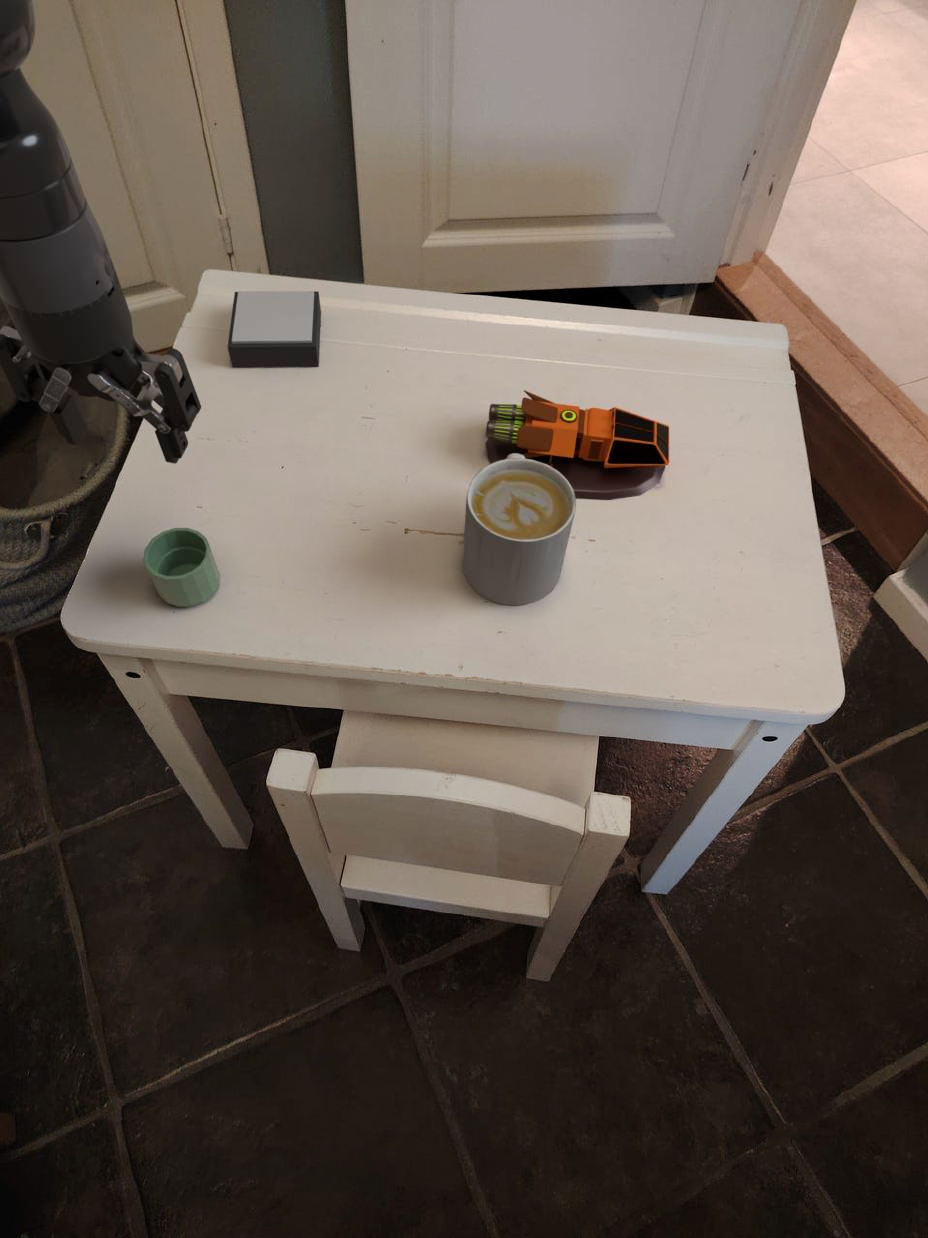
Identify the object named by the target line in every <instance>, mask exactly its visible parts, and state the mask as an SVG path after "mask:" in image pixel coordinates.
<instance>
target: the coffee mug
mask: <svg viewBox="0 0 928 1238" xmlns="http://www.w3.org/2000/svg"><path fill="white" fill-rule="evenodd" d="M466 492H467V493H466V500H465V514H464V515H465V516H464V529H463V531H464V532H463V545H462V558H461V560H462V561H461V566H462V571H463V572H462V573H463V575H464V577H465V579H466V581H467V582H468V585H470V587H471V588H472V589H473V591H475V592H476V593H478V595H480V596H482V597H484V598H485V599H487V600H489V601H492V602H494V603H497V604H500V605H507V606H524V605H528V604H532V603H535V602H538V601H540V600H541V599H544V598H545V597H547V596H548V595H549V594H550V593H551V592H552V591H553V590H554V588H555V587H556V586H557V585H558V582H559V580H560V577H561V574H562V569H563V565H564V562H565V561H564V560H565V557H566V553H567V548H568V544H569V540H570V535H571V532H572V527H573V523H574V519H575V515H576V509H577V498H576V497H575V494H574V490H573V488H572V487H571V485H570V483H569V482H568V480H567V479H566V478H565V477H564V476H563V475H562V474H561V473H560V472H558V471H557V470H556V469H554V468H552V467H550V466H549V465H547V464H544V463H542V462H538V461H535V460H530V459H525V457H524V456H523V455H521V454H517V453H512V454H510V455H508V457H507V458H506V459H505V460H501V461H497V462H495V463H490V464H488V465H486V466H485V467H482V468H481V470H479V471H478V472H477V473H476V474H475V475H474V476H473V478H472V479H471V481H470V482H469V485H468V488H467V491H466Z"/></svg>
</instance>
